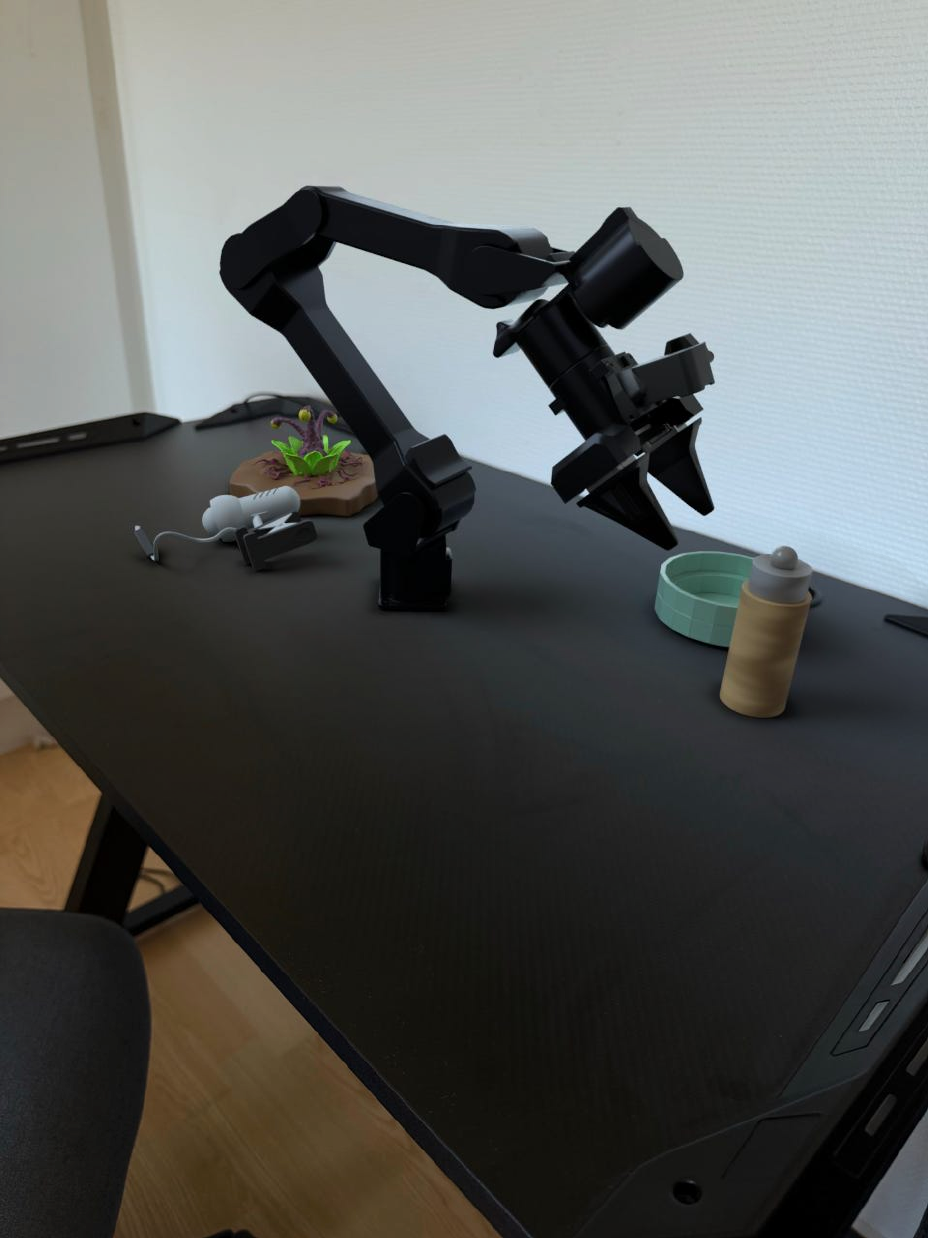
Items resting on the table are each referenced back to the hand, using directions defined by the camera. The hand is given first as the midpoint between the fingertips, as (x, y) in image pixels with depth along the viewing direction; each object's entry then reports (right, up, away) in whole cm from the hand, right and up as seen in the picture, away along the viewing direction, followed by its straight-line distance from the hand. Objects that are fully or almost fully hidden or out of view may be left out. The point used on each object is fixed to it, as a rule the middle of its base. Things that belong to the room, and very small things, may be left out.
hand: (692, 529), depth 71 cm
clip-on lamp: (-44, 0, +25) cm, 50 cm away
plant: (-38, +9, +44) cm, 59 cm away
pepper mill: (+6, -14, +3) cm, 15 cm away
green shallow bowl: (+7, -7, +16) cm, 19 cm away
